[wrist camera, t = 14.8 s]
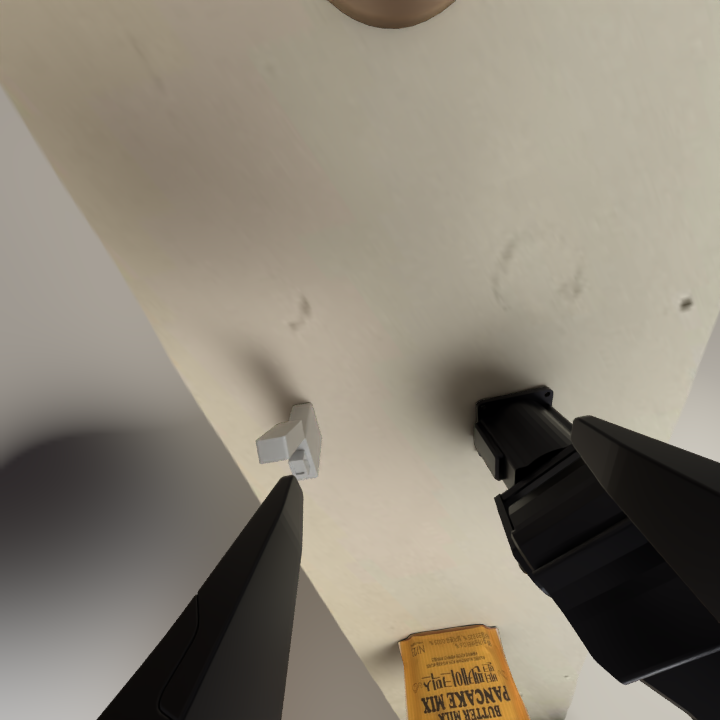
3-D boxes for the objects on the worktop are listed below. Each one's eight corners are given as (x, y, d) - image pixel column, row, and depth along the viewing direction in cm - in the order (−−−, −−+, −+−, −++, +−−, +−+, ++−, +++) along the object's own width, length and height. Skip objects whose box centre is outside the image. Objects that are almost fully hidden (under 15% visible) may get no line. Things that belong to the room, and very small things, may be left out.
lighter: (322, 438, 25) (313, 524, 18) (303, 441, 25) (288, 528, 18) (302, 372, 22) (282, 443, 15) (281, 376, 22) (251, 448, 15)
